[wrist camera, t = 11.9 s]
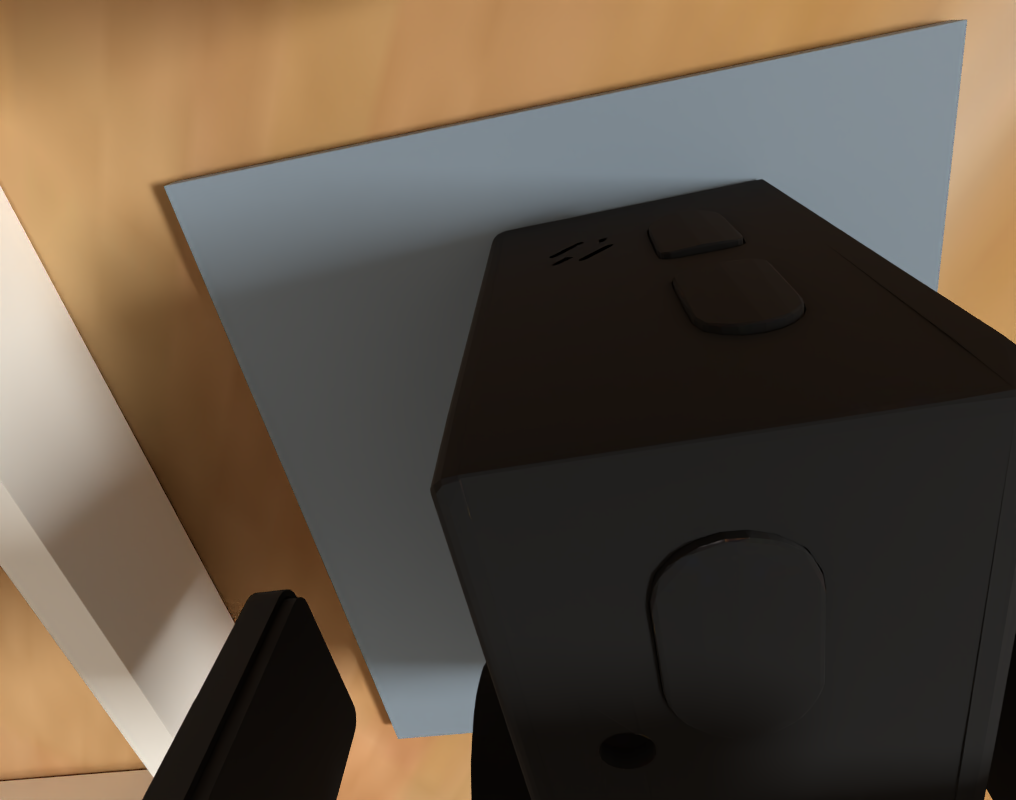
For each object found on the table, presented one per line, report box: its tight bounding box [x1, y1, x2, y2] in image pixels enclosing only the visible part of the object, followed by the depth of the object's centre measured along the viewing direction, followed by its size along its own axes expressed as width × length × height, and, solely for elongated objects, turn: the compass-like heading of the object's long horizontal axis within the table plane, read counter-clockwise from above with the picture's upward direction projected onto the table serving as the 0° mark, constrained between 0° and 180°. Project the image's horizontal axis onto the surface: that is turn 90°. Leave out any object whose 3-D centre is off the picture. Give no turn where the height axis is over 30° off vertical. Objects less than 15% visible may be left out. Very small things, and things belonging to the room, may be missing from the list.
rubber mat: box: [164, 20, 967, 739], centre depth 13 cm, size 14×12×1 cm
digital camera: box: [430, 179, 1016, 800], centre depth 10 cm, size 10×5×7 cm, turn 12°
